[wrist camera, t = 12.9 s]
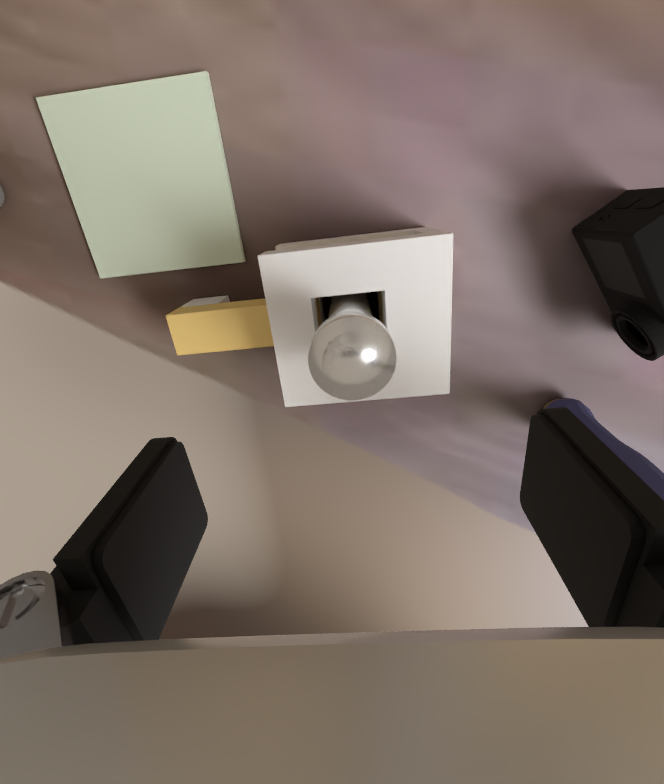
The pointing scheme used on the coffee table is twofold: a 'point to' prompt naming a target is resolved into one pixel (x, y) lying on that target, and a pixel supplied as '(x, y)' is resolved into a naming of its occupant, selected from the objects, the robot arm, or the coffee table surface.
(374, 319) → the steel pin
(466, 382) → the coffee table surface
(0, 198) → the lightbulb
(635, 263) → the digital camera
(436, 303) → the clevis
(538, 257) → the coffee table surface
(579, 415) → the rubber mallet
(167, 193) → the pin mat
